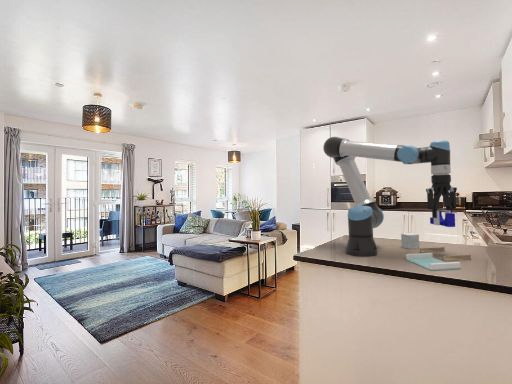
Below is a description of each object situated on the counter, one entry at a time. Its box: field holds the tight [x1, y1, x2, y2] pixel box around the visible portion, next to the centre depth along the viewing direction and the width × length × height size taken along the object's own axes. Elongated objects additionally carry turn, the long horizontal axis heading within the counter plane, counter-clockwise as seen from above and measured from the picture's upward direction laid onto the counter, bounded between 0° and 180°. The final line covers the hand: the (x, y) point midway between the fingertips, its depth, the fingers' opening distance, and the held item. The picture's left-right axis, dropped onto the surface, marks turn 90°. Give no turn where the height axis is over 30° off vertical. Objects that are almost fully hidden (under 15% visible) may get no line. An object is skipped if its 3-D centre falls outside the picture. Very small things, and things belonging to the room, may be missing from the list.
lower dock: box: [405, 252, 461, 271], centre depth 116 cm, size 16×12×2 cm
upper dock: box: [419, 246, 472, 262], centre depth 127 cm, size 16×12×2 cm
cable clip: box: [429, 210, 456, 228], centre depth 127 cm, size 12×4×6 cm, turn 174°
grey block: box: [400, 232, 420, 250], centre depth 146 cm, size 6×6×7 cm
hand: (442, 224), depth 127 cm, fingers closed on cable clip, 5 cm apart
